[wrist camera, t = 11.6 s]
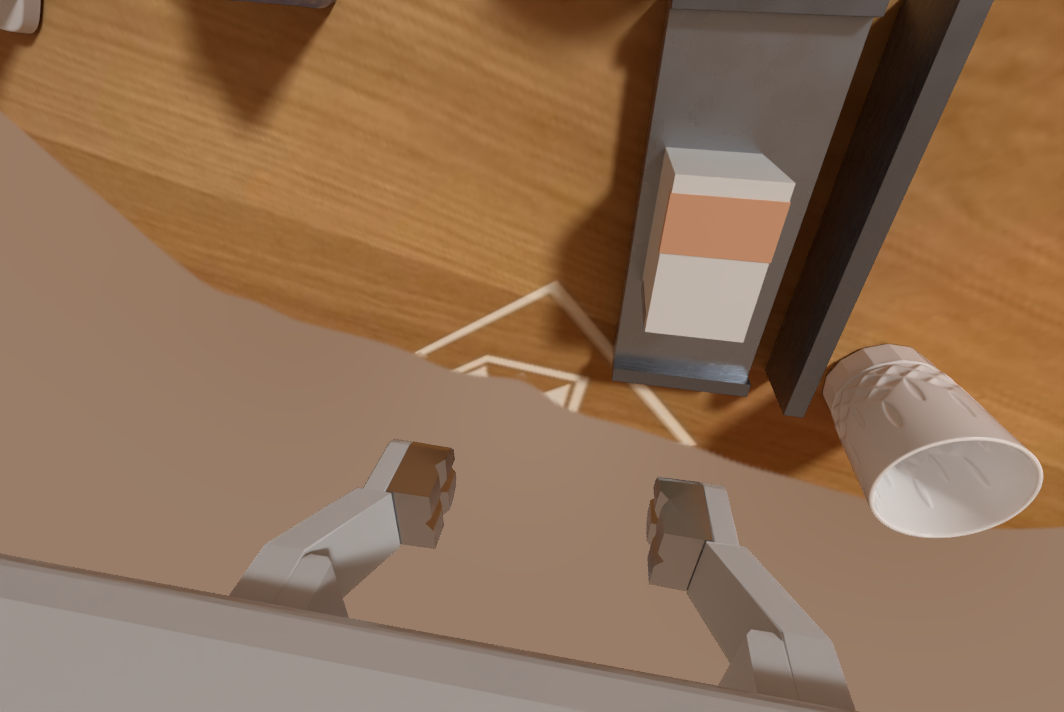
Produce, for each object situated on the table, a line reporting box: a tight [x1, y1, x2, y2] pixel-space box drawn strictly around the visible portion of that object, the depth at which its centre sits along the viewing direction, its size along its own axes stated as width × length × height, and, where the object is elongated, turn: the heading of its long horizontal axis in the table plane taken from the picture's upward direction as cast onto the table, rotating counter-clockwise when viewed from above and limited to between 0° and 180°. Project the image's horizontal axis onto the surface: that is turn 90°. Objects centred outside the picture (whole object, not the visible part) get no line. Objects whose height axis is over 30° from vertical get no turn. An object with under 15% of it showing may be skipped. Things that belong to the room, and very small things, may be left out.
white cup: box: [823, 344, 1043, 538], centre depth 31 cm, size 8×8×10 cm
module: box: [641, 147, 796, 343], centre depth 26 cm, size 5×8×6 cm, turn 178°
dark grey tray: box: [612, 0, 994, 418], centre depth 28 cm, size 12×22×5 cm, turn 178°
